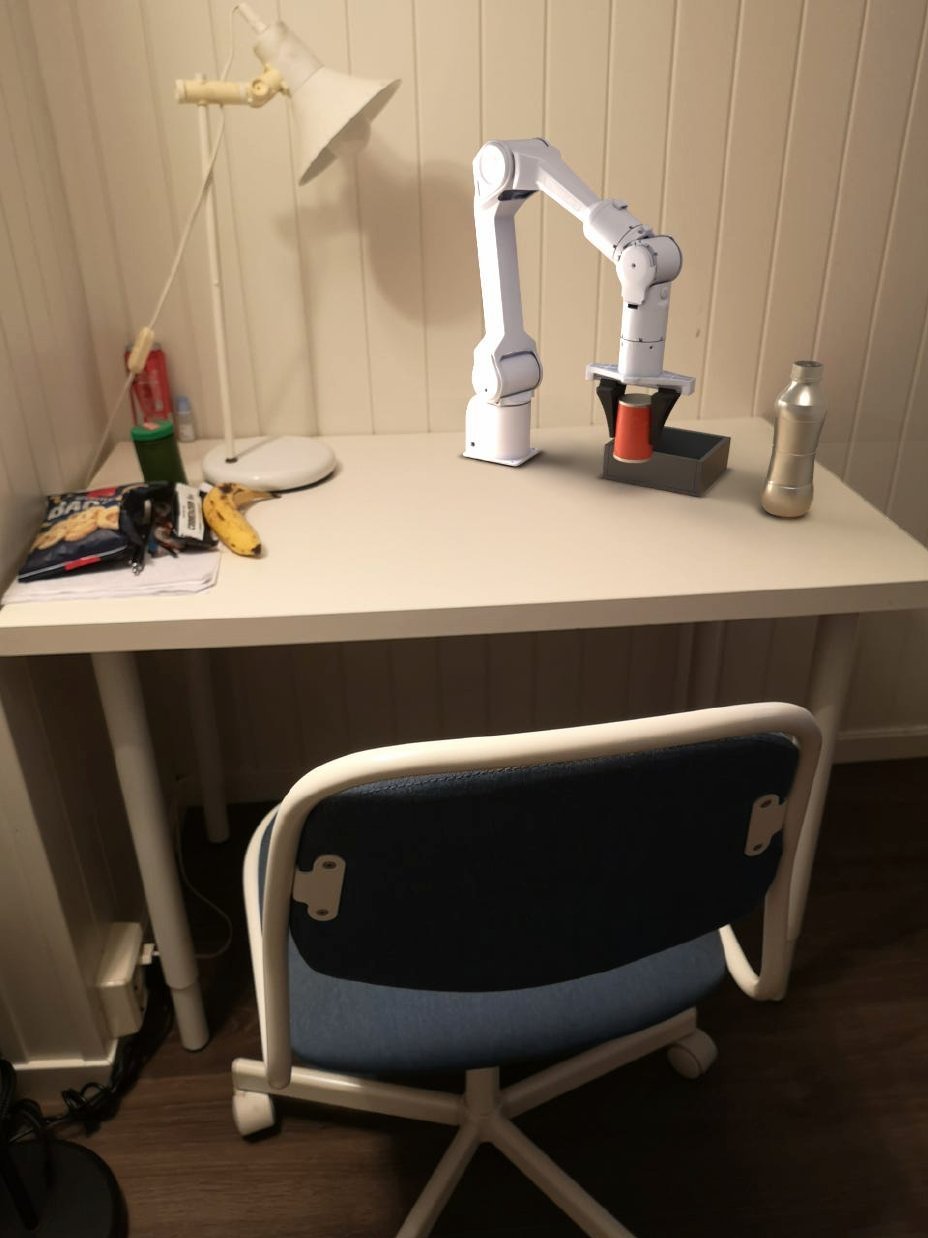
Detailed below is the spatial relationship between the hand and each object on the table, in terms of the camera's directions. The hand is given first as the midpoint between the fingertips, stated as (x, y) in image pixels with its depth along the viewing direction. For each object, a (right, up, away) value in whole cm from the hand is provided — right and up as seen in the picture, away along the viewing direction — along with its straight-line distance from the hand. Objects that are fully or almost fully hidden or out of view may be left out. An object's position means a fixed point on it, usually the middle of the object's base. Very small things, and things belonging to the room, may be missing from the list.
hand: (634, 439), depth 132 cm
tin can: (0, -2, +1) cm, 2 cm away
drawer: (+7, -3, +12) cm, 14 cm away
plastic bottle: (+20, -10, -1) cm, 22 cm away
